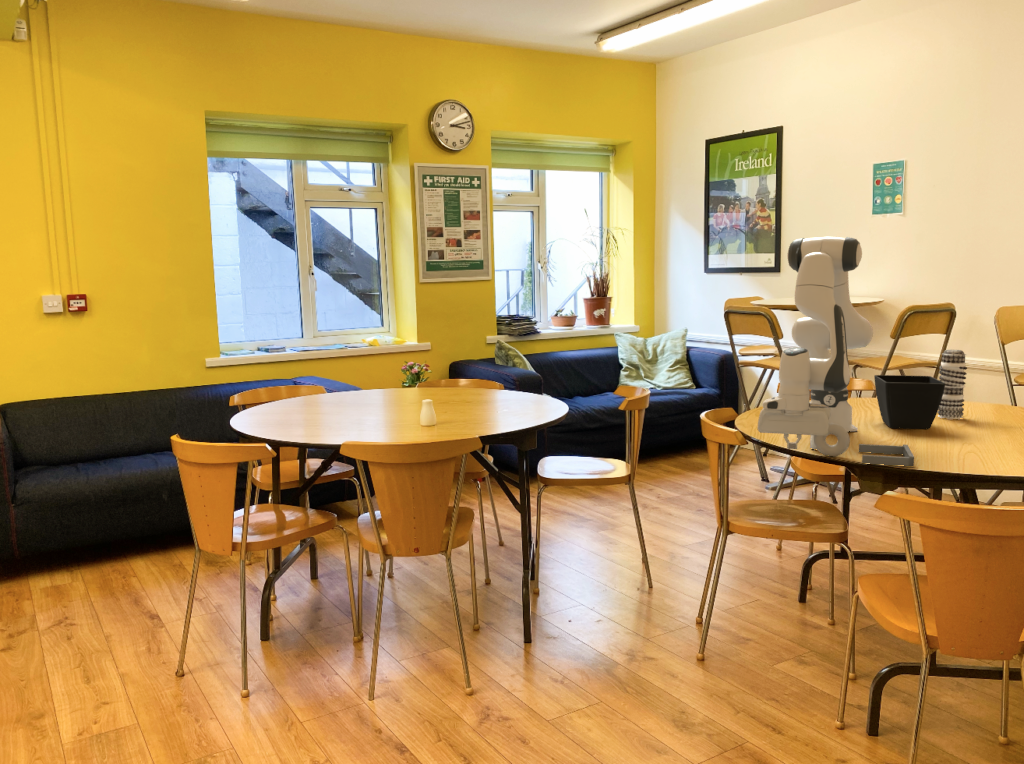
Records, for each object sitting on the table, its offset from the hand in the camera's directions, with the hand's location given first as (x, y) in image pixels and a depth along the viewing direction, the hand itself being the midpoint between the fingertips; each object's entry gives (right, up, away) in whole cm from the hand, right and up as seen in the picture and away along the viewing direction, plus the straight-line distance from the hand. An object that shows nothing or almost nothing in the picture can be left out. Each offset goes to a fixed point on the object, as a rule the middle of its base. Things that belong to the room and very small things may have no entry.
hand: (792, 448), depth 249 cm
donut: (+10, -2, -4) cm, 11 cm away
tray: (+24, -2, -8) cm, 26 cm away
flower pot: (+54, +4, +43) cm, 70 cm away
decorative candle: (+78, +7, +59) cm, 98 cm away
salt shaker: (+9, -1, +6) cm, 11 cm away
